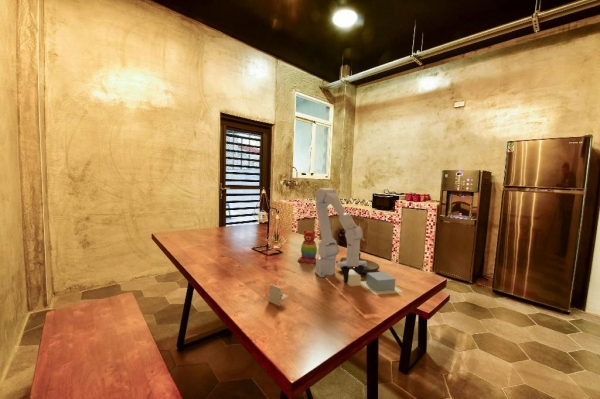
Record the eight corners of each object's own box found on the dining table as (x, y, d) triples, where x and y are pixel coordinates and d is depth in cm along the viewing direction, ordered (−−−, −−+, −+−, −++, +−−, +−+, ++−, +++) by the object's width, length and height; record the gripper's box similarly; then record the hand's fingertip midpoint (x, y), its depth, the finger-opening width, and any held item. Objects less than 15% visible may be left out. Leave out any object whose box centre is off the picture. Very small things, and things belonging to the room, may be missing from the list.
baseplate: (375, 297, 109) (375, 294, 109) (358, 283, 123) (358, 281, 123) (403, 294, 114) (403, 291, 113) (383, 281, 127) (384, 279, 127)
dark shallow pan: (328, 273, 135) (329, 258, 135) (349, 259, 160) (350, 246, 160) (370, 284, 123) (371, 268, 123) (386, 267, 149) (387, 253, 148)
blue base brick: (377, 291, 112) (377, 280, 112) (366, 283, 121) (366, 272, 121) (394, 289, 115) (395, 278, 115) (382, 281, 124) (383, 271, 123)
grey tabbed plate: (274, 299, 104) (275, 281, 104) (287, 305, 100) (288, 286, 100) (268, 302, 102) (269, 284, 101) (282, 308, 98) (282, 289, 97)
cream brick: (350, 288, 117) (350, 276, 117) (342, 281, 125) (343, 270, 124) (360, 287, 119) (360, 275, 118) (351, 280, 126) (352, 269, 126)
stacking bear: (296, 262, 150) (298, 231, 148) (301, 257, 160) (303, 228, 158) (315, 264, 147) (316, 233, 145) (319, 259, 157) (320, 230, 155)
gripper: (342, 256, 114) (340, 286, 116) (371, 254, 119) (369, 283, 120) (335, 251, 121) (334, 279, 122) (363, 250, 125) (361, 277, 127)
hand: (351, 281), depth 121 cm, fingers closed on cream brick, 5 cm apart
